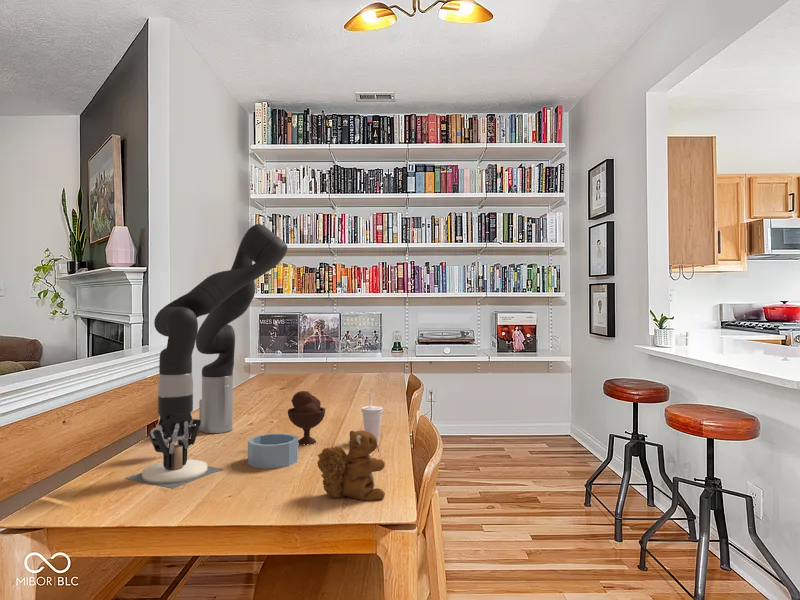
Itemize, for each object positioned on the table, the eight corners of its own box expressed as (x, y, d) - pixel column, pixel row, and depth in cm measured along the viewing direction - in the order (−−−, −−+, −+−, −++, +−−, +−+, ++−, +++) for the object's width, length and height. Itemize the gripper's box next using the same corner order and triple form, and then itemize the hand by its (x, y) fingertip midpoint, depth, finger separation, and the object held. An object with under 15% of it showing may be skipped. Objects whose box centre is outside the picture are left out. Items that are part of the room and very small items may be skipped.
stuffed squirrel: (388, 499, 111) (388, 435, 111) (319, 505, 108) (319, 439, 108) (379, 483, 121) (379, 424, 121) (316, 488, 118) (316, 428, 118)
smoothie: (361, 438, 161) (361, 391, 161) (382, 438, 162) (382, 391, 162) (361, 444, 155) (361, 395, 155) (383, 443, 155) (384, 394, 155)
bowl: (238, 466, 133) (238, 442, 133) (269, 454, 144) (269, 431, 144) (277, 473, 128) (277, 447, 128) (307, 459, 139) (307, 436, 139)
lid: (128, 477, 123) (128, 450, 123) (177, 461, 135) (177, 436, 135) (173, 487, 117) (173, 458, 117) (220, 469, 129) (220, 443, 129)
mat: (124, 480, 122) (124, 478, 122) (177, 463, 136) (177, 460, 136) (172, 491, 116) (172, 488, 116) (223, 471, 129) (223, 468, 129)
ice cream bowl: (318, 448, 150) (318, 394, 150) (280, 446, 152) (281, 392, 152) (331, 439, 160) (331, 388, 160) (295, 437, 162) (295, 387, 162)
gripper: (187, 387, 134) (187, 457, 134) (138, 396, 121) (137, 473, 121) (210, 389, 131) (210, 461, 131) (162, 398, 118) (161, 478, 118)
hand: (175, 466), depth 126 cm, fingers closed on lid, 3 cm apart
